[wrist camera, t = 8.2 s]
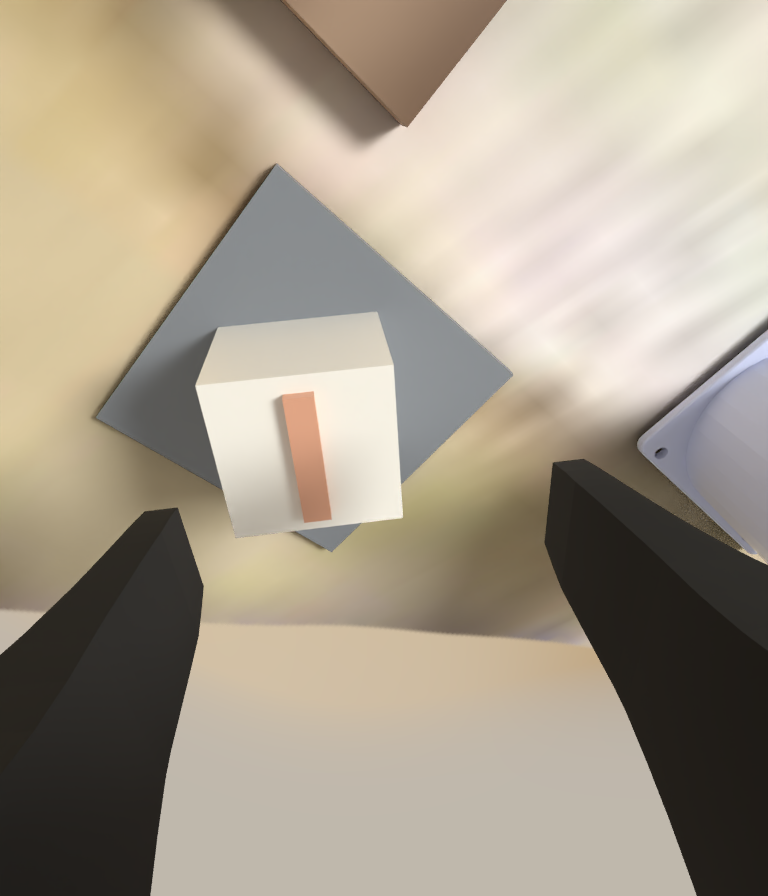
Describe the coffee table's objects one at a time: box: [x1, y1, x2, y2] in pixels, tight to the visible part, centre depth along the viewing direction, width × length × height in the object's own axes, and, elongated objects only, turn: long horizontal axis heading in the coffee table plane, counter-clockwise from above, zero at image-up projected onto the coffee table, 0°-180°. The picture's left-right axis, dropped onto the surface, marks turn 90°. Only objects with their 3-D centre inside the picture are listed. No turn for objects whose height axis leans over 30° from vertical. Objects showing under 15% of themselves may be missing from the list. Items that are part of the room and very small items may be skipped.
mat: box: [96, 164, 513, 552], centre depth 20 cm, size 10×10×1 cm
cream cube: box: [195, 312, 403, 538], centre depth 17 cm, size 5×5×4 cm
